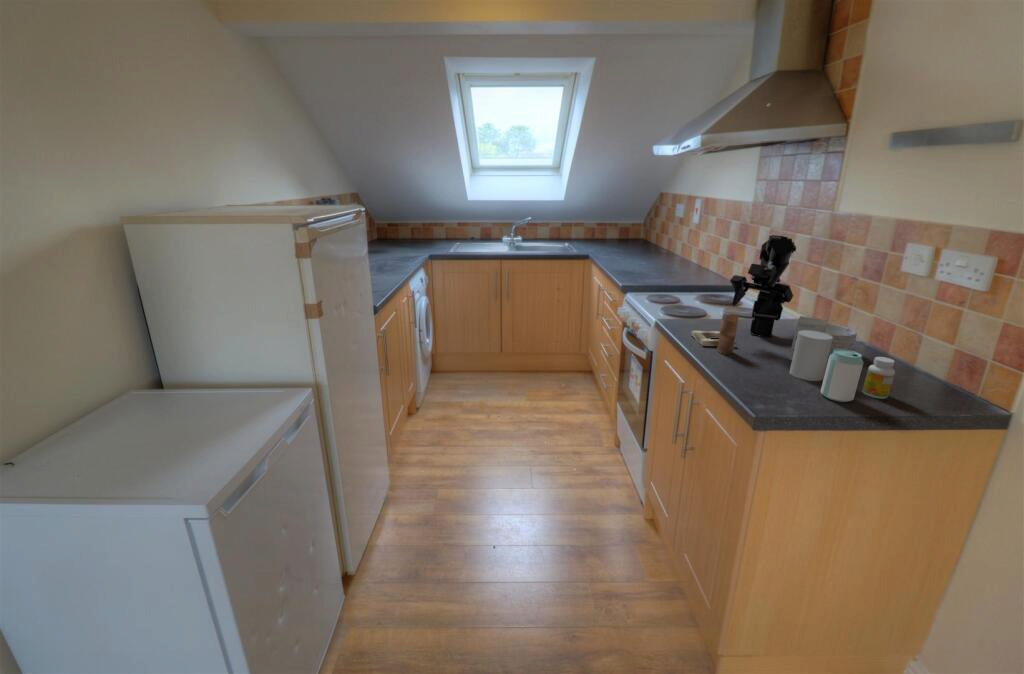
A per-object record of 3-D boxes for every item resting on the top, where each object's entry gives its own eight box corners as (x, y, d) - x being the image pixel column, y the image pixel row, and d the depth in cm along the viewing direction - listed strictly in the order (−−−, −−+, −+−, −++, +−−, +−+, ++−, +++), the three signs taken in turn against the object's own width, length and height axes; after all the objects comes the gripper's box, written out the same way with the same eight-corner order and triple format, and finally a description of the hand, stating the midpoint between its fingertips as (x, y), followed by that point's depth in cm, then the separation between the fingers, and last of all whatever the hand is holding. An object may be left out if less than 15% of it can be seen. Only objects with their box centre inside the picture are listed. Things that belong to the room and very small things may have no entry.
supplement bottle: (856, 390, 124) (866, 355, 121) (875, 390, 124) (885, 355, 121) (873, 399, 119) (883, 363, 116) (893, 399, 119) (904, 363, 116)
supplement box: (787, 360, 144) (796, 320, 140) (791, 353, 150) (799, 315, 146) (815, 366, 140) (825, 325, 136) (818, 359, 146) (828, 319, 142)
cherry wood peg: (732, 350, 151) (739, 313, 147) (731, 355, 147) (738, 316, 143) (717, 348, 153) (723, 311, 149) (715, 352, 149) (722, 314, 145)
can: (838, 390, 123) (849, 347, 119) (860, 402, 117) (872, 357, 113) (813, 391, 122) (824, 348, 119) (834, 404, 116) (846, 358, 112)
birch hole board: (722, 336, 165) (723, 331, 164) (735, 347, 154) (736, 341, 154) (690, 335, 165) (691, 330, 165) (701, 346, 155) (702, 340, 154)
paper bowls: (795, 341, 162) (799, 318, 160) (848, 348, 155) (853, 325, 153) (796, 354, 149) (801, 330, 147) (854, 363, 143) (860, 338, 140)
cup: (818, 372, 135) (828, 332, 132) (826, 382, 128) (836, 341, 124) (786, 368, 138) (795, 328, 134) (792, 378, 131) (801, 337, 127)
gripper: (738, 250, 155) (712, 287, 153) (796, 258, 140) (767, 299, 138) (748, 272, 161) (723, 307, 159) (804, 282, 146) (777, 321, 144)
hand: (746, 308), depth 150 cm, fingers open, 9 cm apart
